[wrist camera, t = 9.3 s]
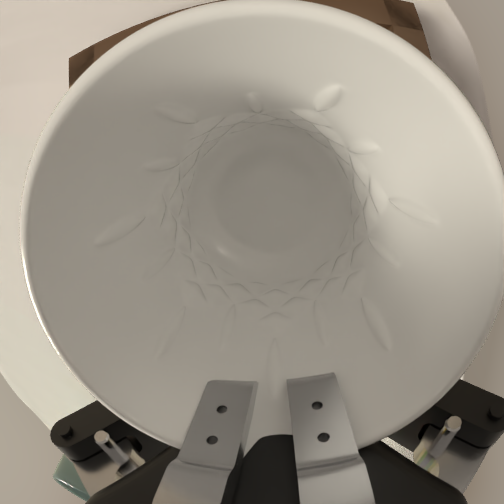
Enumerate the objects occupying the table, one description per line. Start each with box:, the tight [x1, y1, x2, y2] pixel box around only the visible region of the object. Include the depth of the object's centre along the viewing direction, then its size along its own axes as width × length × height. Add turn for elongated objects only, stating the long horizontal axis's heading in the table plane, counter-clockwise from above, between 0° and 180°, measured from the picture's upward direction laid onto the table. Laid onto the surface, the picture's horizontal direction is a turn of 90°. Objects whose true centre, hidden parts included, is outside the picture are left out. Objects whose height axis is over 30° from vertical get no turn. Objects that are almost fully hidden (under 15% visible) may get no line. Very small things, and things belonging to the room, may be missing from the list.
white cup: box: [19, 0, 504, 457], centre depth 8 cm, size 8×8×10 cm
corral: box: [69, 0, 432, 89], centre depth 11 cm, size 15×15×3 cm
